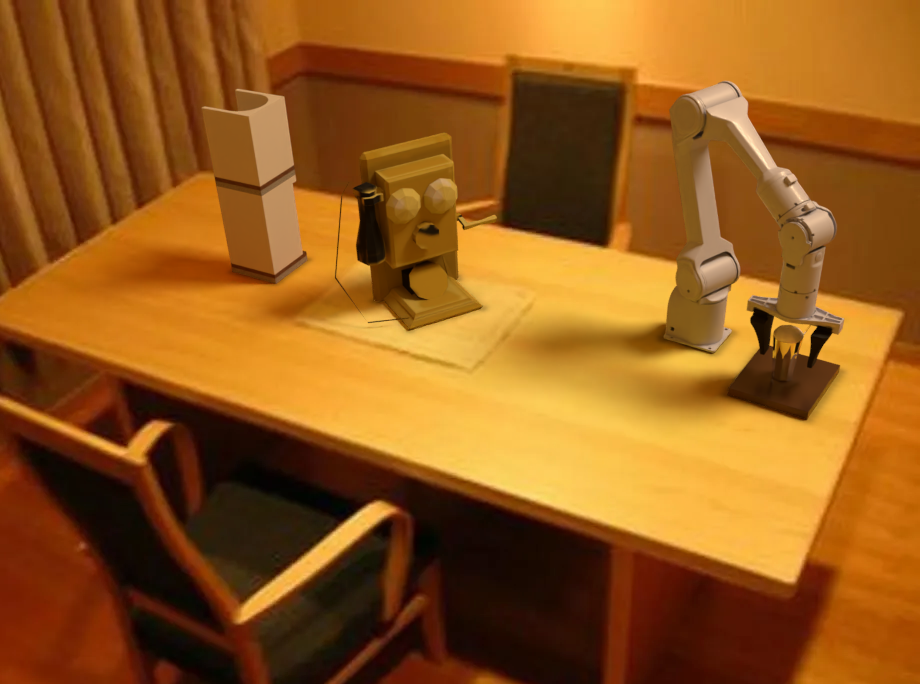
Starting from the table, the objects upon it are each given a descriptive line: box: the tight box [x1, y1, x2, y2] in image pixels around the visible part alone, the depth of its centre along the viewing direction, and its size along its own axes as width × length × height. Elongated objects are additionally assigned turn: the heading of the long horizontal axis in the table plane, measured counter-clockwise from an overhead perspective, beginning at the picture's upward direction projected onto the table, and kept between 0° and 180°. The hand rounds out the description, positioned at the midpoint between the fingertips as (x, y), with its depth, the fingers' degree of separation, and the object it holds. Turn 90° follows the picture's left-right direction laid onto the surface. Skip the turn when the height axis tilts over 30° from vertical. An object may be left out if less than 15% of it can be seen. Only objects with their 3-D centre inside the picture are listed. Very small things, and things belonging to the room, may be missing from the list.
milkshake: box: [772, 324, 812, 381], centre depth 172 cm, size 4×5×10 cm
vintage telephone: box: [334, 132, 498, 330], centre depth 196 cm, size 31×14×30 cm, turn 114°
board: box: [727, 345, 841, 420], centre depth 175 cm, size 13×15×2 cm
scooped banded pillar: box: [201, 88, 308, 285], centre depth 212 cm, size 11×11×35 cm
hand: (787, 358), depth 173 cm, fingers open, 7 cm apart
